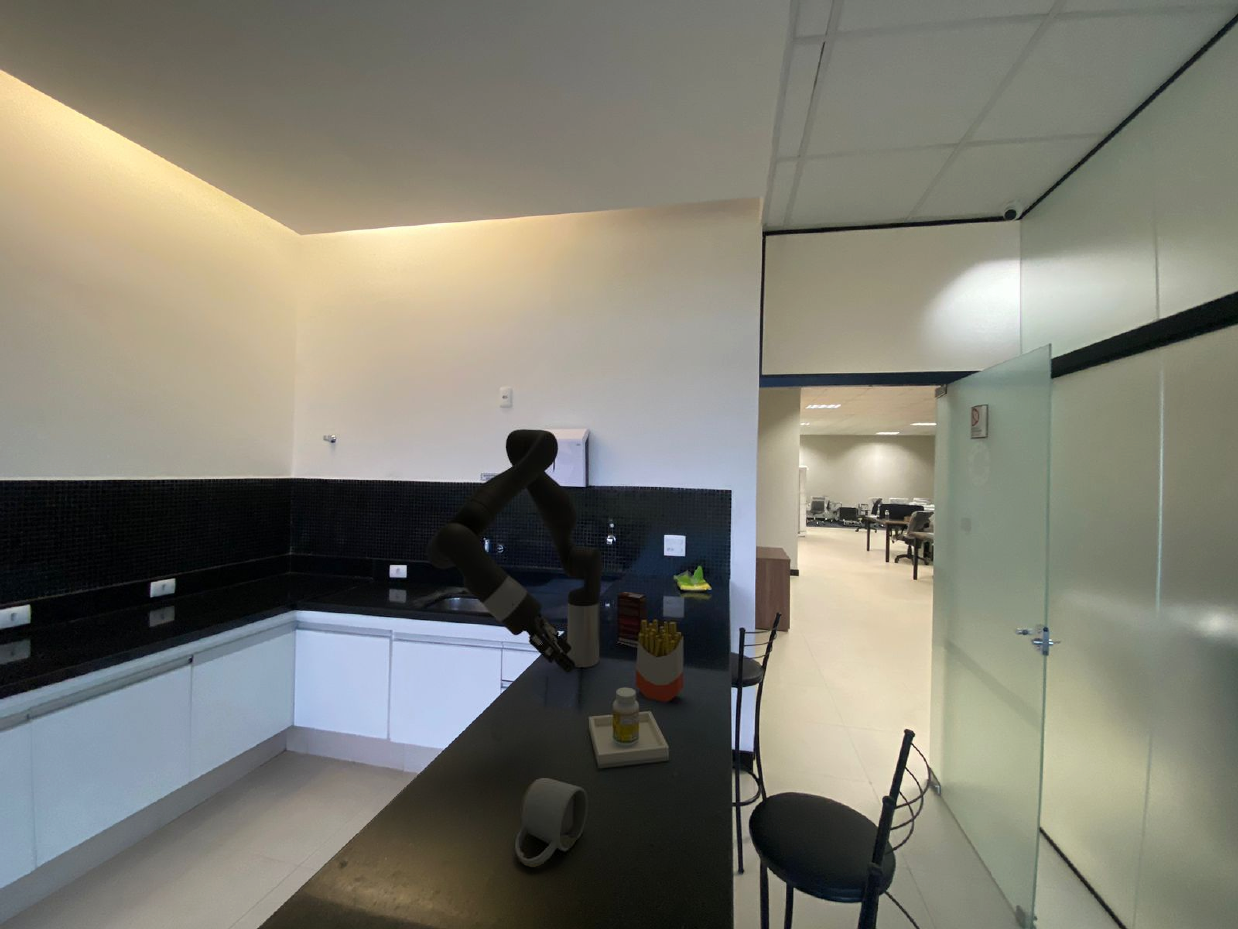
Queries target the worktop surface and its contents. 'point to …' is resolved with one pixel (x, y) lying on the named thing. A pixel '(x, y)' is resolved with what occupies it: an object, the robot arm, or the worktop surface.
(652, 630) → the french fries container
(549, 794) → the ceramic mug
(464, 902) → the worktop surface
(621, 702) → the supplement bottle
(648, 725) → the tray
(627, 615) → the supplement box
